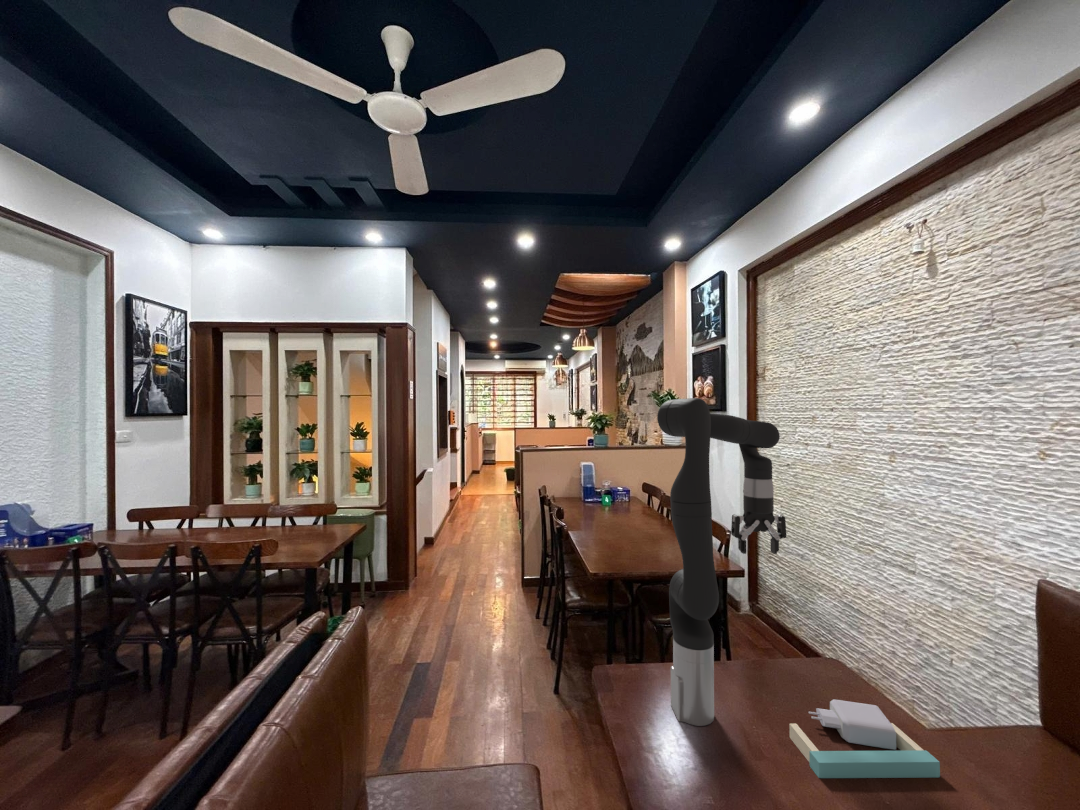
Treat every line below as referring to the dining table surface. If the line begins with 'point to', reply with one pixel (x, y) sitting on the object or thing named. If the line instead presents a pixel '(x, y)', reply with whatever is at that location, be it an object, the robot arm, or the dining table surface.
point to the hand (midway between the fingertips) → (758, 553)
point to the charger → (858, 723)
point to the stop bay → (868, 759)
